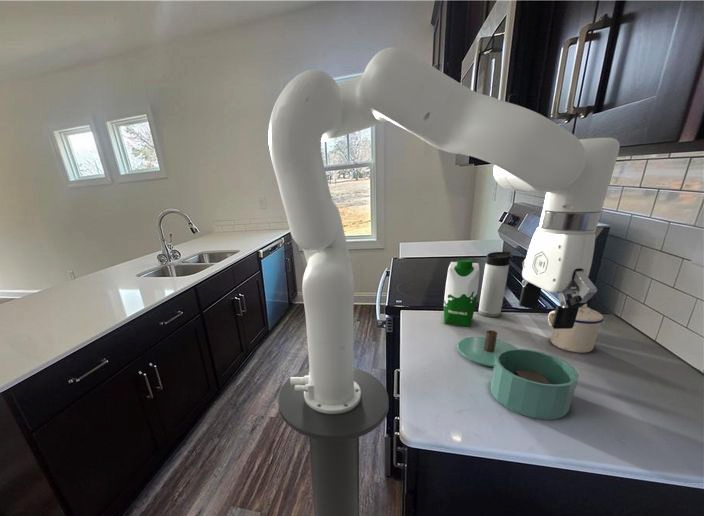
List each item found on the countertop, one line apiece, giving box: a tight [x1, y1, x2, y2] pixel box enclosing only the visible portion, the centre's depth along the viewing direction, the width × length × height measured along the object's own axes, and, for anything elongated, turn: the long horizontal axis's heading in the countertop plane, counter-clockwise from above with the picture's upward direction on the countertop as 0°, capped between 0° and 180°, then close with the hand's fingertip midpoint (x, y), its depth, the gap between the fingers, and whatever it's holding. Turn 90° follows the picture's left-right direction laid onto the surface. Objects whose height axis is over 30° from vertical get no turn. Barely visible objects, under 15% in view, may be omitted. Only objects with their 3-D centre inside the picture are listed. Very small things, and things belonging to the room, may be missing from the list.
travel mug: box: [477, 250, 512, 318], centre depth 99 cm, size 6×7×20 cm
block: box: [514, 370, 551, 384], centre depth 64 cm, size 4×4×4 cm
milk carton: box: [443, 258, 481, 328], centre depth 96 cm, size 9×9×20 cm
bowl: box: [490, 348, 580, 421], centre depth 64 cm, size 13×13×8 cm
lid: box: [457, 329, 518, 368], centre depth 80 cm, size 14×14×6 cm
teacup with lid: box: [547, 303, 604, 354], centre depth 81 cm, size 12×9×12 cm
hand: (543, 316), depth 58 cm, fingers open, 9 cm apart
